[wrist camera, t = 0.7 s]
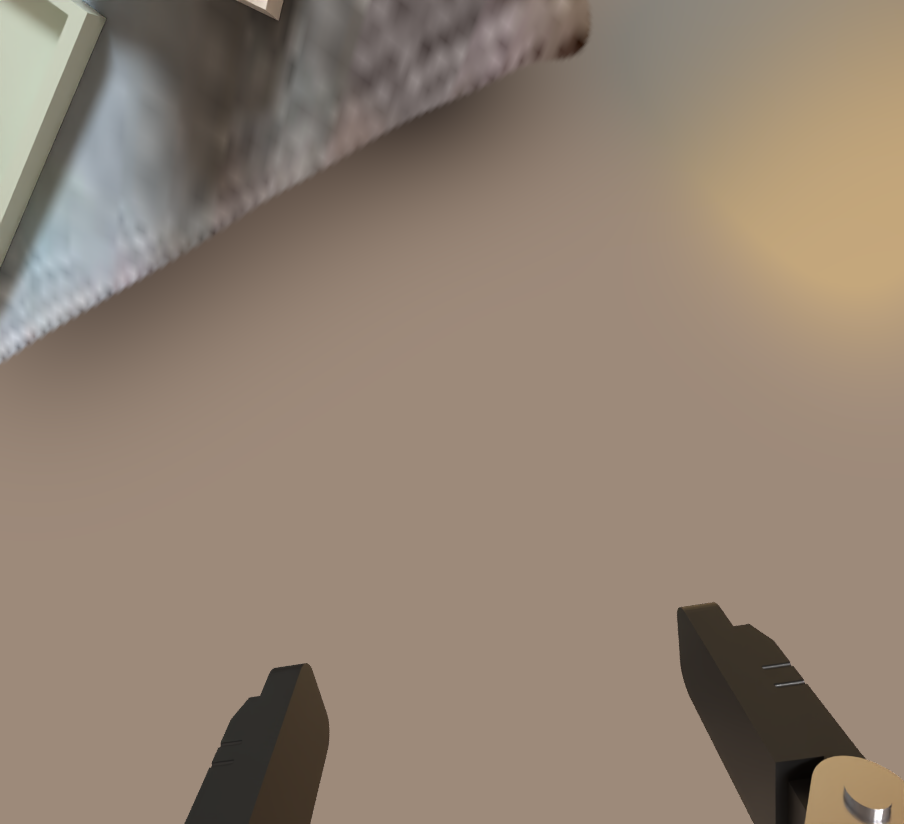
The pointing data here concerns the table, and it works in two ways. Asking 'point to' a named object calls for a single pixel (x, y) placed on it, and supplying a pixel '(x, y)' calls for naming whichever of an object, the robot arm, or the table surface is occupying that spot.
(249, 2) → the white square frame
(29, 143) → the tray
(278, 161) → the table surface
